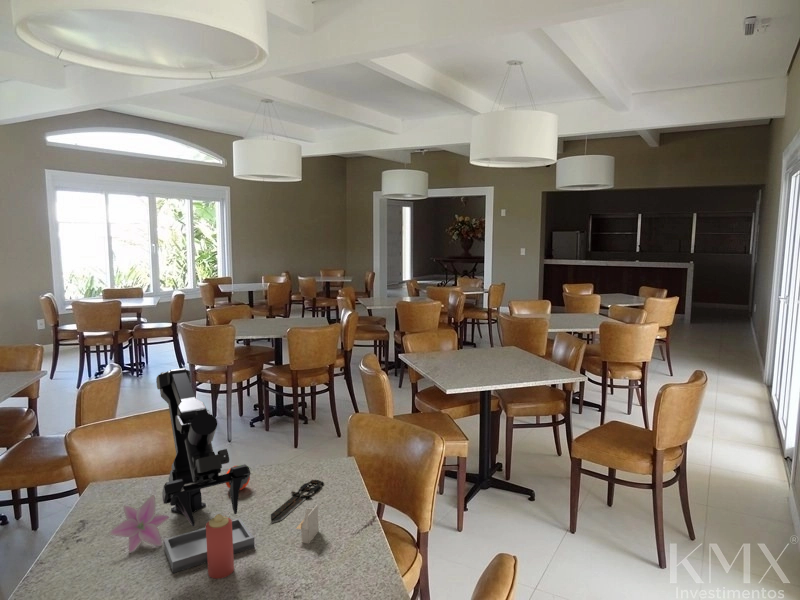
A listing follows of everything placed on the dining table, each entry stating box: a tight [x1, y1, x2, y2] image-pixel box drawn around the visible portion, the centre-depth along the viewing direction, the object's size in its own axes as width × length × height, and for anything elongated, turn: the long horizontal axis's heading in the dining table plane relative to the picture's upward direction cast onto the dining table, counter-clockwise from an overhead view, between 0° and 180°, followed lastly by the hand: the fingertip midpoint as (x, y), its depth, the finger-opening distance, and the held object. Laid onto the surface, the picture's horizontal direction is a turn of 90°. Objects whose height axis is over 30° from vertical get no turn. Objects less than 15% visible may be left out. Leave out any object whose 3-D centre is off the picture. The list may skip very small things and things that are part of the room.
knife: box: [270, 479, 325, 524], centre depth 150 cm, size 25×6×1 cm, turn 154°
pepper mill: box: [205, 513, 235, 579], centre depth 118 cm, size 5×5×13 cm
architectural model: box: [295, 504, 320, 544], centre depth 133 cm, size 3×7×7 cm, turn 165°
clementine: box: [225, 464, 252, 491], centre depth 158 cm, size 8×7×7 cm
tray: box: [163, 517, 255, 574], centre depth 128 cm, size 11×18×2 cm, turn 123°
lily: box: [108, 494, 171, 554], centre depth 131 cm, size 12×12×10 cm
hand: (215, 519), depth 120 cm, fingers open, 9 cm apart
